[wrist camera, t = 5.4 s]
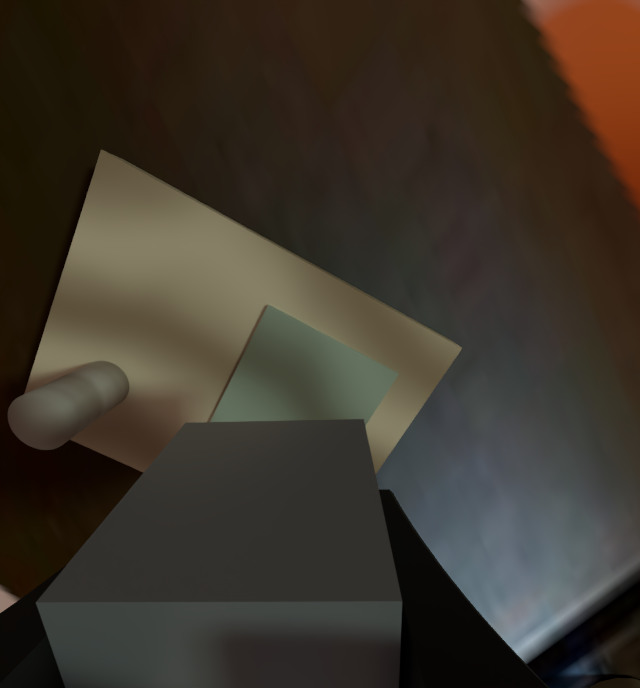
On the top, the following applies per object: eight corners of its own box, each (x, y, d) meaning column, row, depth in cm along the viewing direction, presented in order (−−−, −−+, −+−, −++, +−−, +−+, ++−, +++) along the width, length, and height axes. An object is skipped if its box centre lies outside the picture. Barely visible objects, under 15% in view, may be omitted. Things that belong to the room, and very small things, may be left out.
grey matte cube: (363, 561, 11) (393, 820, 6) (207, 562, 11) (109, 815, 6) (363, 418, 9) (403, 601, 4) (185, 422, 9) (35, 602, 5)
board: (322, 531, 21) (320, 627, 15) (41, 403, 19) (-72, 462, 14) (451, 340, 17) (505, 379, 12) (122, 159, 15) (14, 110, 10)
